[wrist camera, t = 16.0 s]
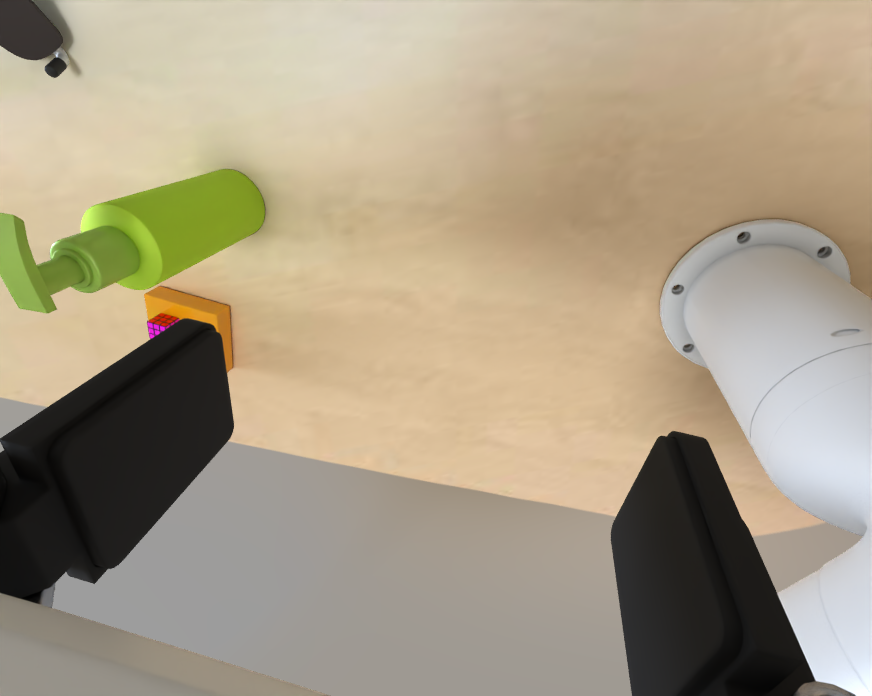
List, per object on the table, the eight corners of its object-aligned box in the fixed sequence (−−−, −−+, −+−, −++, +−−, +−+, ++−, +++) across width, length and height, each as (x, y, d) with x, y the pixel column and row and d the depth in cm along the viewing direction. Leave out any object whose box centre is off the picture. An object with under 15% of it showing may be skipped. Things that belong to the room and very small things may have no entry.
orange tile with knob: (230, 305, 47) (204, 324, 44) (233, 367, 52) (210, 389, 48) (159, 285, 48) (127, 302, 44) (168, 348, 52) (140, 368, 49)
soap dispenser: (259, 160, 39) (38, 223, 22) (269, 239, 43) (85, 345, 26) (196, 152, 40) (-62, 208, 23) (211, 231, 43) (-3, 328, 26)
